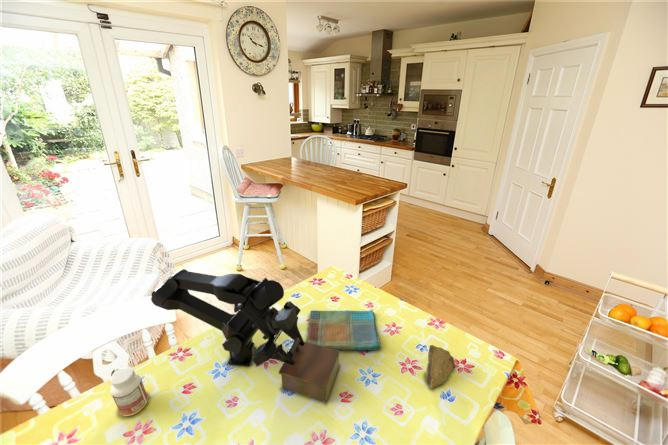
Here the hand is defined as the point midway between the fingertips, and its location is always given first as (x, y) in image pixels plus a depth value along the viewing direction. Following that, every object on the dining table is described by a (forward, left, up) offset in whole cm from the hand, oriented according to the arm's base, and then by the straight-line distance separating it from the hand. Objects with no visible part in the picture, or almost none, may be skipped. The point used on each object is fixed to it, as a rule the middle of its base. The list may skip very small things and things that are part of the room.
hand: (298, 354), depth 80 cm
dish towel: (+12, +17, -8) cm, 22 cm away
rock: (+41, +3, -8) cm, 41 cm away
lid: (+3, -1, -2) cm, 4 cm away
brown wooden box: (+4, -1, -7) cm, 8 cm away
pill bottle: (-40, -13, -8) cm, 43 cm away
